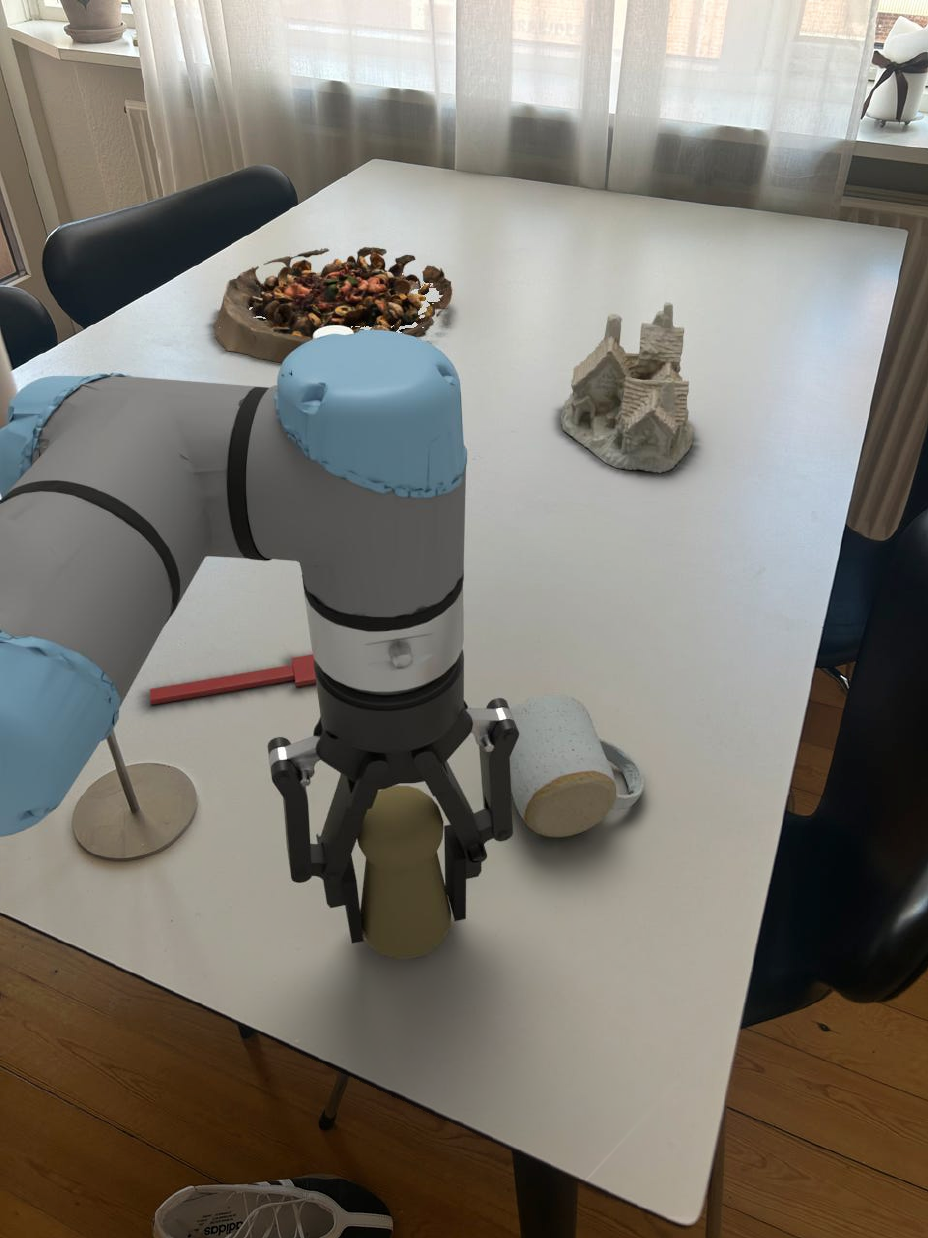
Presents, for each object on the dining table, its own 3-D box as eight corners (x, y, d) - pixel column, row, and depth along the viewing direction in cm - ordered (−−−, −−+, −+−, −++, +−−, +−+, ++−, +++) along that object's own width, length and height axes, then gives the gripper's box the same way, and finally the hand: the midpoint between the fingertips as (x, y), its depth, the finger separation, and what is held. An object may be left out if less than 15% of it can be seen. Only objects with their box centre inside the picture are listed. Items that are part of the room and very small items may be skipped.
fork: (151, 712, 80) (149, 707, 80) (151, 686, 82) (149, 681, 82) (399, 669, 84) (399, 664, 83) (393, 645, 86) (392, 640, 86)
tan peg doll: (340, 913, 63) (325, 806, 56) (411, 862, 66) (405, 754, 59) (399, 977, 60) (390, 871, 53) (470, 919, 63) (472, 812, 56)
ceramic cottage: (573, 392, 123) (585, 279, 112) (702, 419, 118) (726, 303, 108) (536, 459, 112) (544, 340, 102) (675, 490, 108) (699, 369, 97)
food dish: (438, 275, 157) (439, 226, 152) (466, 366, 133) (467, 312, 128) (219, 280, 153) (212, 230, 148) (205, 375, 128) (197, 319, 123)
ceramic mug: (522, 855, 69) (528, 784, 64) (489, 770, 75) (492, 699, 70) (659, 824, 71) (675, 752, 66) (616, 744, 77) (628, 673, 72)
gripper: (196, 736, 43) (263, 999, 58) (594, 667, 47) (562, 932, 62) (191, 630, 49) (253, 895, 64) (547, 576, 53) (528, 839, 67)
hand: (405, 913), depth 63 cm, fingers closed on tan peg doll, 6 cm apart
